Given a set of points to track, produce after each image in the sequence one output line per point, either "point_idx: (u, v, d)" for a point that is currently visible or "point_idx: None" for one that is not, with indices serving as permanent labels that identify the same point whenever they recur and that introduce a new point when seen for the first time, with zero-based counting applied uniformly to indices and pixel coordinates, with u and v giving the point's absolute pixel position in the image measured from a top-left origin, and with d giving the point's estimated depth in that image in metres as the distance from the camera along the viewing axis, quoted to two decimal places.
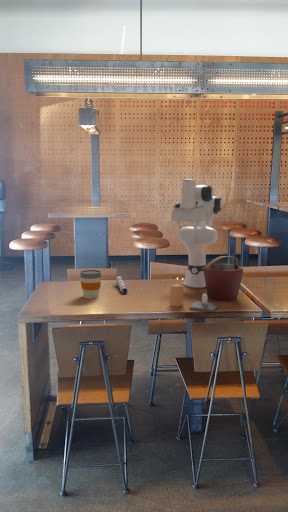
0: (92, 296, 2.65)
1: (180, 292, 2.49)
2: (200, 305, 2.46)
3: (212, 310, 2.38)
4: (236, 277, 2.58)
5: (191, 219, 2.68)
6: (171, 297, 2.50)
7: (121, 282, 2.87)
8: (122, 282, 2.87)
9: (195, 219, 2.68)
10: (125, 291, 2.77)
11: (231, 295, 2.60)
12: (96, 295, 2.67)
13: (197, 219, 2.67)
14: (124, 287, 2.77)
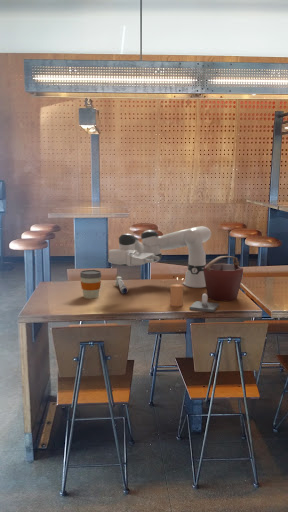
0: (92, 296, 2.65)
1: (180, 292, 2.49)
2: (200, 305, 2.46)
3: (212, 310, 2.38)
4: (236, 277, 2.58)
5: (148, 255, 2.57)
6: (171, 297, 2.50)
7: (121, 282, 2.87)
8: (122, 282, 2.87)
9: (150, 254, 2.59)
10: (125, 291, 2.76)
11: (231, 295, 2.60)
12: (96, 295, 2.67)
13: (151, 254, 2.60)
14: (124, 287, 2.77)
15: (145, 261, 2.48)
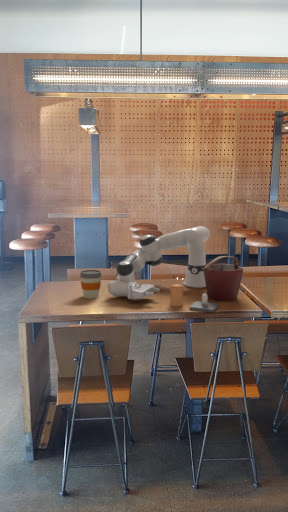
0: (92, 296, 2.65)
1: (180, 292, 2.49)
2: (200, 305, 2.46)
3: (212, 310, 2.38)
4: (236, 277, 2.58)
5: (149, 287, 2.60)
6: (171, 297, 2.50)
7: None
8: None
9: (150, 286, 2.62)
10: None
11: (231, 295, 2.60)
12: (96, 295, 2.67)
13: (151, 285, 2.63)
14: None
15: (145, 294, 2.51)
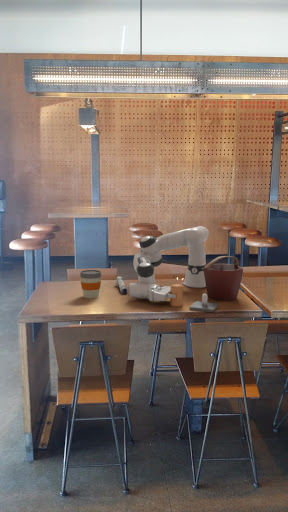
0: (92, 296, 2.65)
1: (180, 292, 2.49)
2: (200, 305, 2.46)
3: (212, 310, 2.38)
4: (236, 277, 2.58)
5: None
6: None
7: (121, 282, 2.86)
8: (122, 282, 2.86)
9: None
10: (125, 291, 2.76)
11: (231, 295, 2.60)
12: (96, 295, 2.67)
13: None
14: (124, 287, 2.77)
15: (168, 296, 2.47)
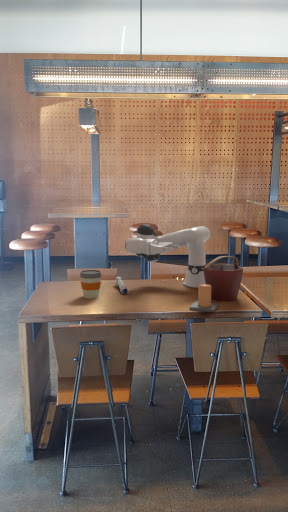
0: (92, 296, 2.65)
1: (208, 292, 2.42)
2: None
3: (212, 310, 2.38)
4: (236, 277, 2.58)
5: (167, 243, 2.52)
6: (199, 297, 2.44)
7: (121, 282, 2.86)
8: (122, 282, 2.86)
9: (168, 243, 2.54)
10: (125, 291, 2.76)
11: (231, 295, 2.60)
12: (96, 295, 2.67)
13: (169, 243, 2.55)
14: (124, 287, 2.76)
15: (164, 249, 2.43)
